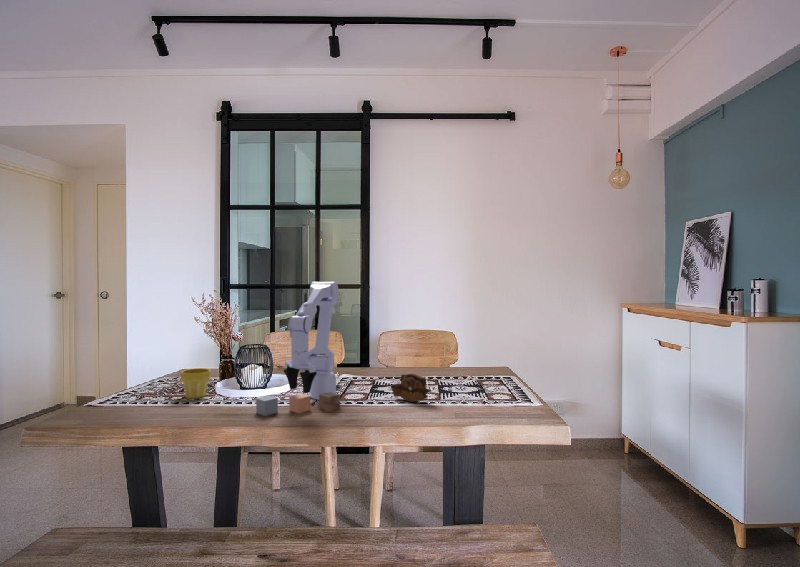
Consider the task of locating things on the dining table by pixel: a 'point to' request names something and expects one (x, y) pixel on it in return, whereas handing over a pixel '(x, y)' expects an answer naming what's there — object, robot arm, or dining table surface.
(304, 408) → the terracotta block
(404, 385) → the wooden carving
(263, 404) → the slate block
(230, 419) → the dining table surface
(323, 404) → the walnut block
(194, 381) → the plant pot
